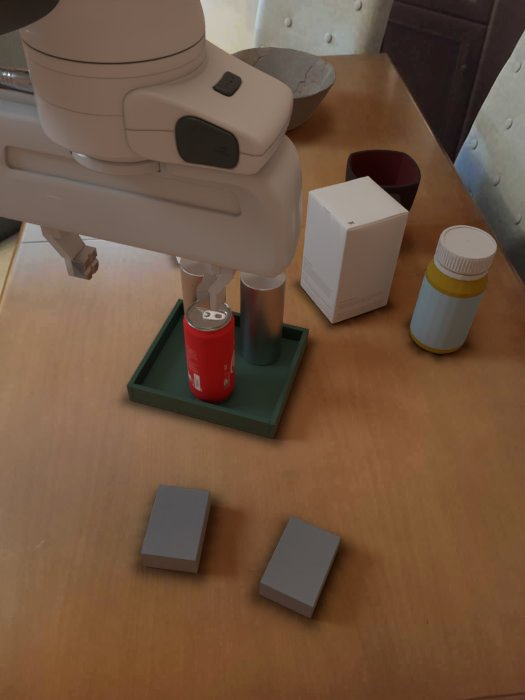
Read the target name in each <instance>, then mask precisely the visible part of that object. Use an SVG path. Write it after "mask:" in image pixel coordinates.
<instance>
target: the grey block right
mask: <svg viewBox="0 0 525 700" xmlns="http://www.w3.org/2000/svg"><path fill="white" fill-rule="evenodd" d="M341 541H342V537H341V536H339V535H337V534H334V533H332V532H330V531H327V530H325V529H324V528H321V527H319V526H317V525H314V524H312V523H309V522H307V521H305V520H302V519H300V518H298V517H295V516H293V515H291V516H290V517H289V520H288V522H287V524H286V526H285V528H284V529H283V532H282V534H281V536H280V538H279V541H278V542H277V545H276V547H275V549H274V551H273V553H272V556H271V557H270V559H269V562H268V564H267V565H266V568H265V570H264V572H263V574H262V577H261V578H260V580H259V592H258V593H259V595H260V596H262V597H265V598H266V599H267V600H270V601H272V602H275V603H276V604H278V605H281V606H283V607H284V608H287V609H289V610H291V611H293V612H294V613H297V614H299V615H300V616H301V615H302V616H303V617H305V618H308V619H312V616H313V614H314V612H315V609H316V606H317V604H318V601H319V599H320V597H321V594H322V592H323V589H324V586H325V583H326V581H327V579H328V576H329V574H330V572H331V568H332V566H333V563H334V561H335V559H336V556H337V553H338V552H339V548H340V544H341Z"/></svg>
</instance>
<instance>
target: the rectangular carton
mask: <svg viewBox="0 0 525 700" xmlns="http://www.w3.org/2000/svg"><path fill="white" fill-rule="evenodd" d="M306 209H307V210H306V221H305V231H304V241H303V252H302V265H301V275H300V287H301V288H302V289H303V290H304V291H305V293H306V294H307V295H308V296H309V297H310V299H311V300H312V301H313V302H314V304H315V305H316V306H317V307H318V309H319V310H320V311H321V312H322V313H323V315H324V316H325V317H326V319H328V321H329V322H330V323H331V324H332V325H333V324H337V323H340V322H342V321H345V320H348V319H350V318H354V317H357V316H359V315H362V314H366V313H369V312H371V311H374V310H377V309H379V308H382V307H385V306H387V305H388V301H389V297H390V292H391V288H392V284H393V279H394V275H395V271H396V268H397V263H398V259H399V254H400V251H401V248H402V247H401V246H402V242H403V238H404V234H405V230H406V226H407V222H408V218H409V214H410V212H409V211H407V210H406V209H405V208H404V207H403V206H402V205H400V204H399V203H398V202H397V201H396V200H395V199H393V198H392V197H391V196H390V195H389V194H388V193H387V192H385V191H384V190H383V189H382V188H381V187H380V186H379V185H377V184H376V183H375V182H374V181H373V180H372V179H371V178H370V177H369V176H367V177H362V178H358V179H354V180H351V181H348V182H345V181H344V182H340V183H336V184H332V185H328V186H322V187H319V188H315V189H311V190H310V191H308V198H307V208H306Z"/></svg>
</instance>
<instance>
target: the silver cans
mask: <svg viewBox="0 0 525 700" xmlns="http://www.w3.org/2000/svg"><path fill="white" fill-rule="evenodd" d="M179 271H180V281H181V291H182V300H183V304H184V314H185V313H186V310H187V308H188V307H189V306H190V305H191V304H192V303H194V302H196V301H197V300H198V298H197V297H196V288H197V287H198V285H199V283H201V282H202V278H203V276H204V274H205V273H208V274H212V270H211V264H207V263H203V262H198V261H194V260H189V259H185V258H181V259H180V264H179ZM239 272H240V273H239V313H240V353H241V355H242V357H243V358H244V359H245V360H246V361H247V362H249V363H251V364H254V365H268V364H271V363H273V362H274V361H276V360H277V359H278V358H279V356H280V353H281V342H282V328H283V323H284V316H285V315H284V314H285V300H286V299H285V298H286V285H287V272H286V270H285V271H284V272H282V273H281V274H280V275H278V276H276V277H274V278H268V277H264V276H260V275H255V274H251V273H247V272H242V271H239ZM213 275H214V274H213ZM223 302H225V303H226V304H227V293H226V294H225V298H224V301H223Z"/></svg>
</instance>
